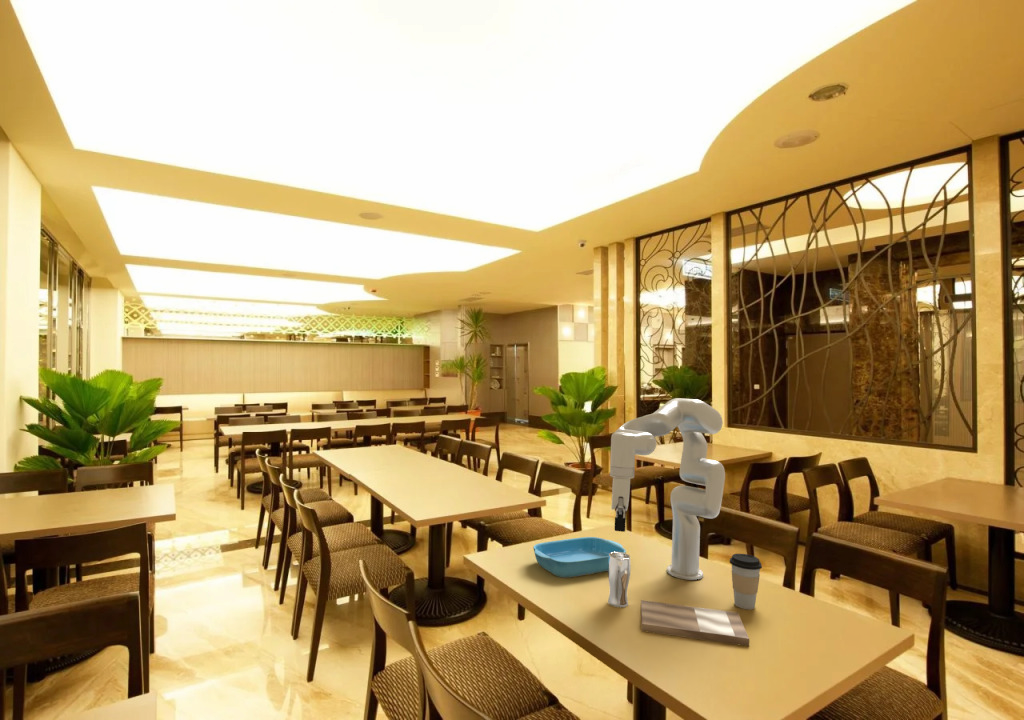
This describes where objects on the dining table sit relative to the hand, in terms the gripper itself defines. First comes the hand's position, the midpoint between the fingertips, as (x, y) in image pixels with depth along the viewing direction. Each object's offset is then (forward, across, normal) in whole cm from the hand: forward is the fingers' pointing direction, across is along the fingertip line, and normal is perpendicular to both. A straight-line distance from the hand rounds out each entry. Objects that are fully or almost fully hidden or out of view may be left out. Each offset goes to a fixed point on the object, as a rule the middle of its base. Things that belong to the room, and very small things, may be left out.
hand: (620, 526), depth 165 cm
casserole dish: (+24, -29, -15) cm, 40 cm away
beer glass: (+24, 0, 0) cm, 24 cm away
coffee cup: (+24, -11, +39) cm, 47 cm away
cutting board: (+24, +8, +21) cm, 33 cm away
